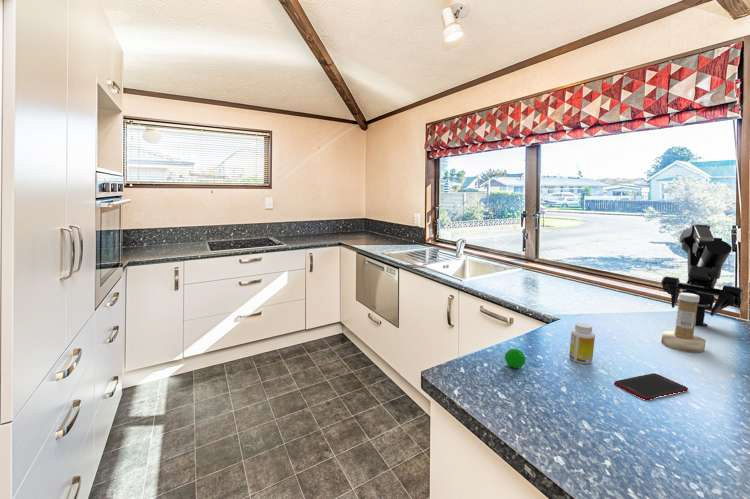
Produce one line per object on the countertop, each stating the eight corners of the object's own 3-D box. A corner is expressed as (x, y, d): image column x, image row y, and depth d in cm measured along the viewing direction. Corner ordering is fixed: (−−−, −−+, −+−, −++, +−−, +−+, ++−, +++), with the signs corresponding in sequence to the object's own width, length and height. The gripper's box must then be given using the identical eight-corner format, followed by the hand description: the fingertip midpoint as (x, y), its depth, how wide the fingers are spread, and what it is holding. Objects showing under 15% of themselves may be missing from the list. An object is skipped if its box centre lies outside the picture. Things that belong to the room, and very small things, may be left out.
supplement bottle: (596, 362, 95) (600, 326, 94) (583, 366, 93) (587, 329, 91) (577, 354, 100) (580, 320, 99) (564, 357, 98) (567, 323, 96)
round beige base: (654, 338, 112) (655, 329, 112) (689, 341, 111) (690, 332, 110) (674, 351, 103) (675, 341, 102) (713, 354, 101) (714, 344, 100)
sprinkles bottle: (695, 337, 106) (702, 294, 104) (690, 340, 103) (696, 297, 101) (676, 332, 110) (682, 291, 108) (671, 335, 107) (677, 293, 105)
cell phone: (689, 392, 81) (690, 388, 81) (645, 402, 77) (645, 398, 77) (654, 376, 89) (654, 372, 89) (612, 385, 84) (612, 381, 84)
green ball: (511, 372, 89) (512, 354, 88) (500, 363, 94) (501, 346, 93) (528, 370, 90) (530, 353, 89) (517, 362, 95) (518, 345, 94)
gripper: (667, 252, 116) (650, 289, 112) (747, 261, 101) (731, 304, 96) (672, 272, 122) (656, 308, 117) (748, 283, 106) (734, 325, 102)
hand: (691, 310), depth 108 cm, fingers open, 9 cm apart
